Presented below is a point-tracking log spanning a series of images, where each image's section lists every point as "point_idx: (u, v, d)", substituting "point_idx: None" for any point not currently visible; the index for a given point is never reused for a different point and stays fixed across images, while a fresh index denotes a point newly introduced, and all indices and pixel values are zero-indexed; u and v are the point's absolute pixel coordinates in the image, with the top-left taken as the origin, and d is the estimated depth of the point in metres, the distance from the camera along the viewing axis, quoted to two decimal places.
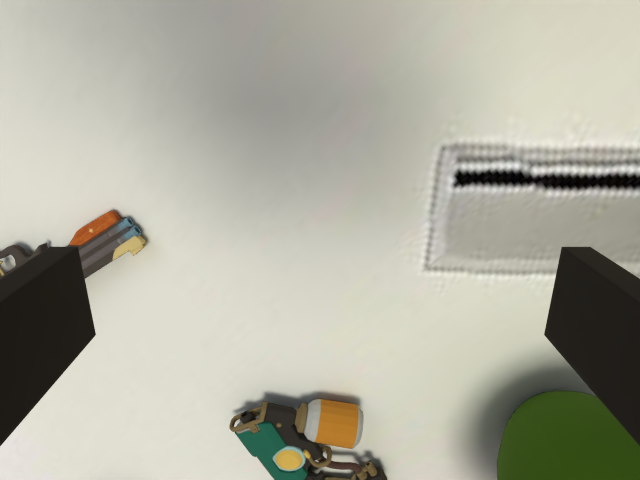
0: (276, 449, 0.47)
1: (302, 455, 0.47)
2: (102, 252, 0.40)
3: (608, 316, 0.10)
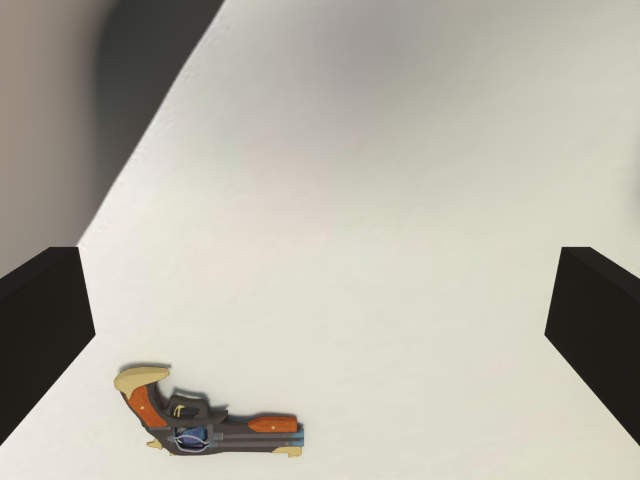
0: None
1: None
2: (268, 444, 0.47)
3: (608, 316, 0.10)
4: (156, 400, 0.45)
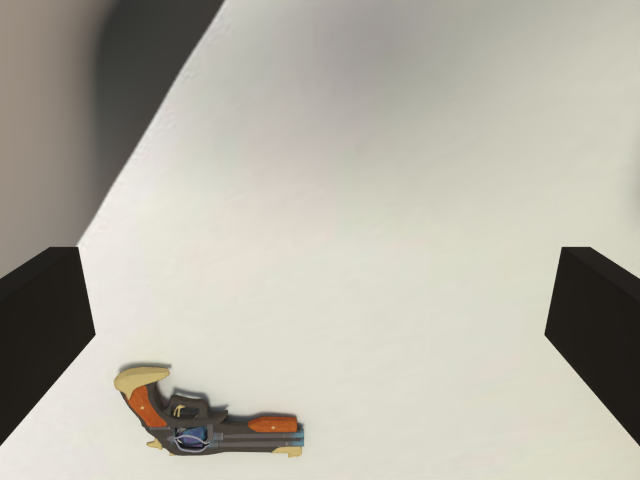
0: None
1: None
2: (268, 444, 0.47)
3: (608, 316, 0.10)
4: (156, 400, 0.45)
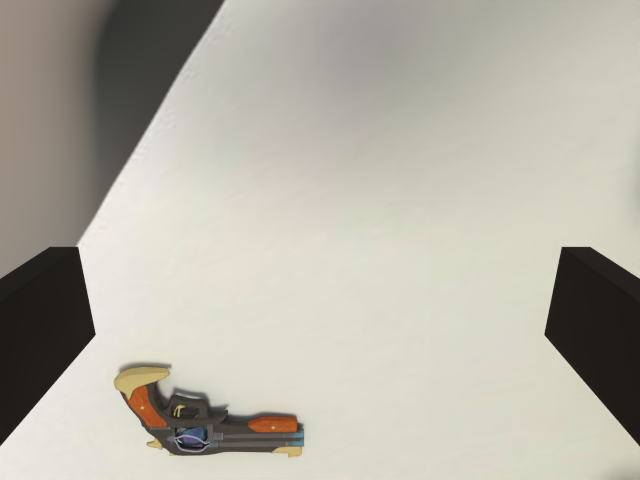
0: None
1: None
2: (268, 444, 0.47)
3: (608, 316, 0.10)
4: (156, 400, 0.45)
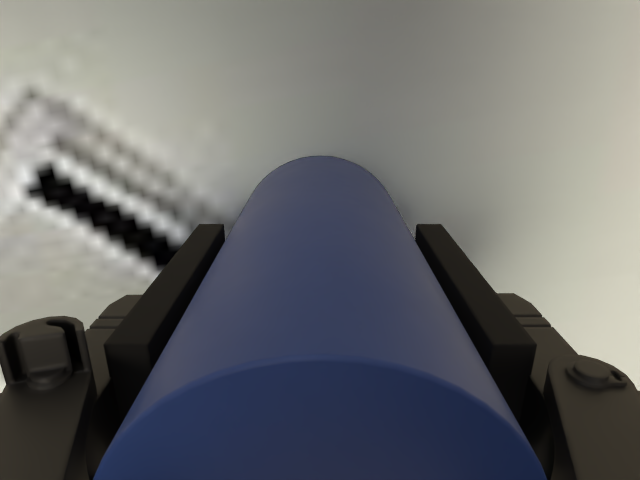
0: None
1: None
2: None
3: None
4: None
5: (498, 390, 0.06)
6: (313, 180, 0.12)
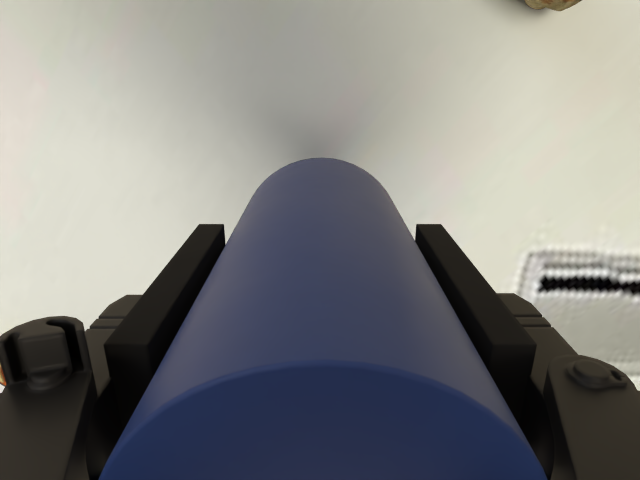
0: None
1: None
2: None
3: None
4: None
5: (500, 394, 0.06)
6: (314, 182, 0.12)
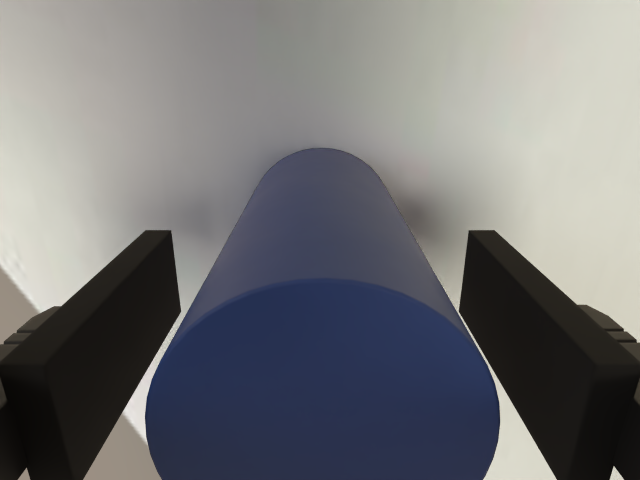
0: None
1: None
2: None
3: (494, 289, 0.11)
4: None
5: (459, 318, 0.08)
6: (315, 167, 0.14)
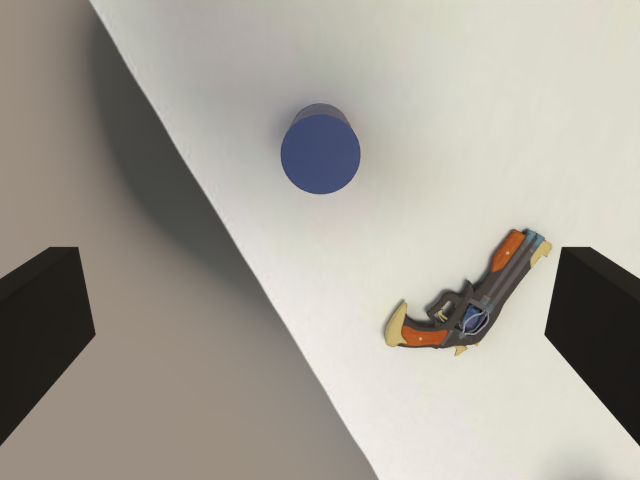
0: None
1: None
2: (521, 265, 0.48)
3: (608, 316, 0.10)
4: (422, 325, 0.50)
5: None
6: (318, 106, 0.40)
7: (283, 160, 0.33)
